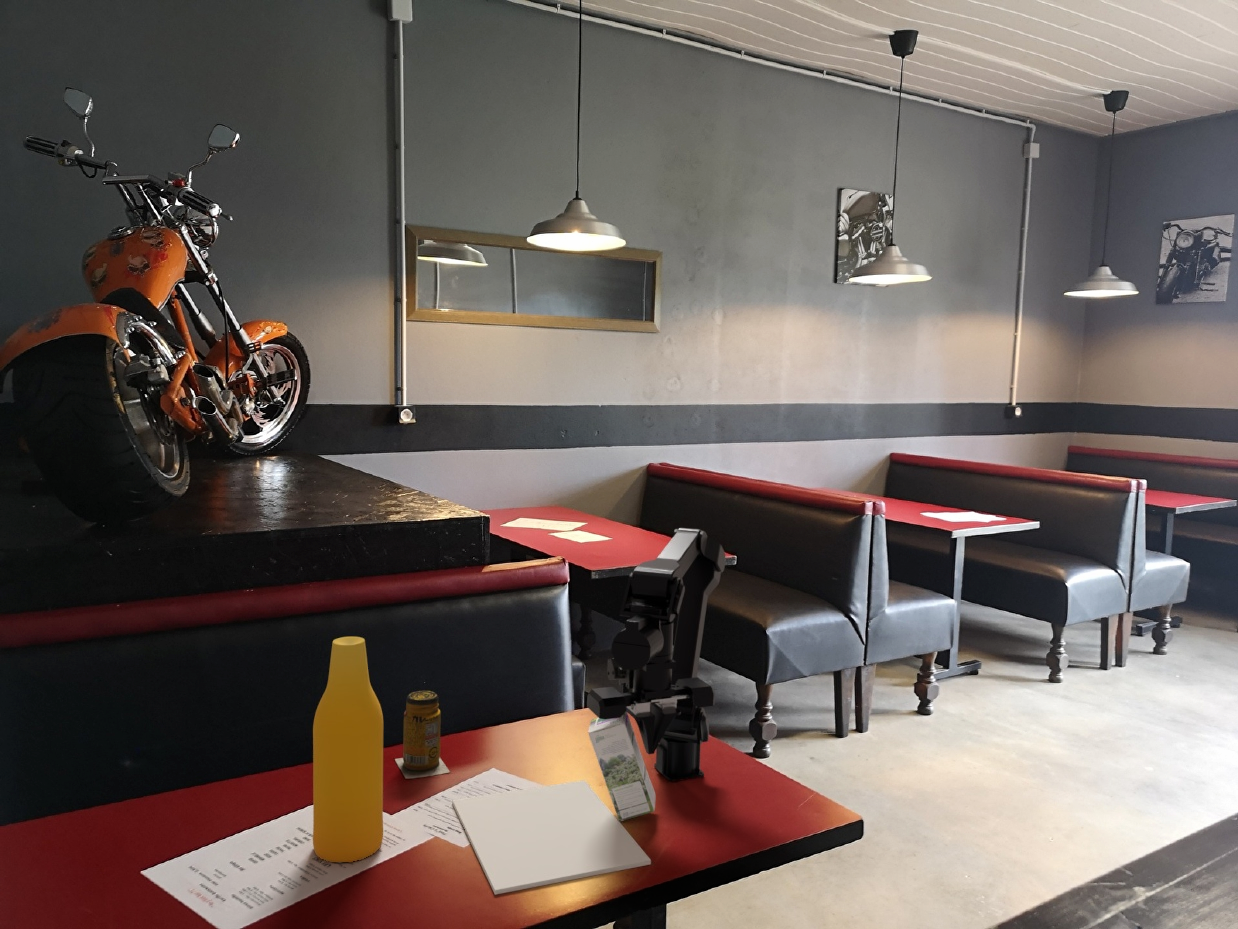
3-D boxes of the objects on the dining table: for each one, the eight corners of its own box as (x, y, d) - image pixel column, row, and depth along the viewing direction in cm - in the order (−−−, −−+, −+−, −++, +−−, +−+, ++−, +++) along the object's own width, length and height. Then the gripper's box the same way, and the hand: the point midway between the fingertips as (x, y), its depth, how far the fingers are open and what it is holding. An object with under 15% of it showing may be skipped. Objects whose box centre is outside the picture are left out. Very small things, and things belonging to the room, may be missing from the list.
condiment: (437, 754, 154) (437, 686, 153) (450, 773, 146) (450, 702, 145) (394, 760, 151) (395, 691, 150) (405, 780, 143) (406, 708, 142)
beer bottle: (318, 871, 116) (318, 654, 113) (308, 838, 124) (307, 635, 122) (390, 856, 120) (391, 646, 118) (375, 825, 128) (375, 628, 126)
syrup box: (656, 795, 136) (626, 706, 135) (655, 813, 130) (623, 720, 129) (621, 805, 136) (590, 717, 136) (618, 824, 131) (586, 732, 130)
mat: (584, 783, 144) (584, 780, 144) (650, 864, 120) (650, 860, 120) (452, 803, 135) (452, 800, 135) (494, 894, 112) (494, 890, 111)
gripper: (684, 632, 143) (681, 726, 144) (575, 641, 135) (572, 741, 137) (718, 651, 132) (714, 753, 134) (602, 663, 125) (599, 770, 126)
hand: (649, 753), depth 133 cm, fingers closed
